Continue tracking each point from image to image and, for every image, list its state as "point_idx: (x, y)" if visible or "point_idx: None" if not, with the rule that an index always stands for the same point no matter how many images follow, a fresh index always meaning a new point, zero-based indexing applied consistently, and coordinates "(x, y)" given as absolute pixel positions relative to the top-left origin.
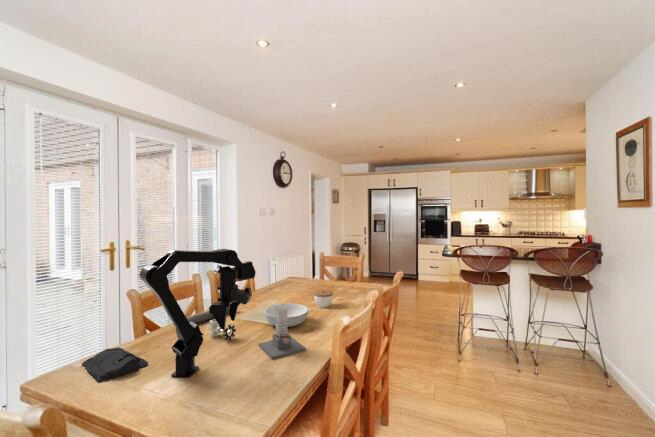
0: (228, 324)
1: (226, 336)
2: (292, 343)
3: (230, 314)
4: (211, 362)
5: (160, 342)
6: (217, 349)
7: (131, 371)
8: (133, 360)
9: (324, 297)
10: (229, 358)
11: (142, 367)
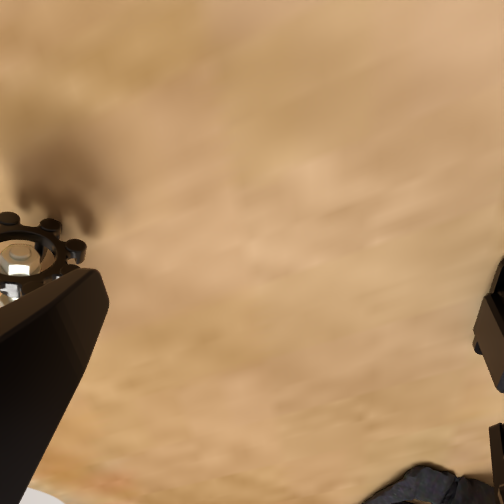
0: None
1: (66, 255)
2: None
3: (53, 407)
4: (416, 210)
5: (198, 481)
6: (211, 246)
7: (493, 493)
8: None
9: None
10: (349, 99)
11: (449, 473)
